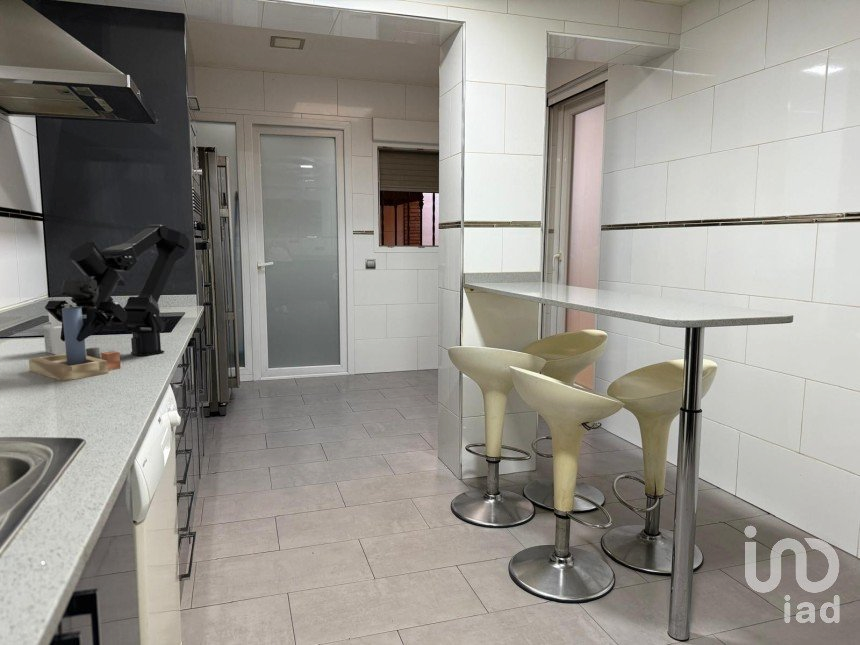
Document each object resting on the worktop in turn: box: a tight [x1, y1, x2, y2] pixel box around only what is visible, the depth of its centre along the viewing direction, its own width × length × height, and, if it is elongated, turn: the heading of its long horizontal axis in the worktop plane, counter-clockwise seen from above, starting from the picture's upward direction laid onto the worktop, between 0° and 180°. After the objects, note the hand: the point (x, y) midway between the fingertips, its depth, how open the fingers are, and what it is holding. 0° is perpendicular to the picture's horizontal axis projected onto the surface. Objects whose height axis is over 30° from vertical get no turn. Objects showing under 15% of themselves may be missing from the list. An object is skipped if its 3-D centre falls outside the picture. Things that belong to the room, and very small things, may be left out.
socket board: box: [28, 347, 122, 382], centre depth 148 cm, size 14×18×4 cm
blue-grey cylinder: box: [62, 307, 87, 366], centre depth 143 cm, size 4×4×14 cm
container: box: [42, 311, 66, 355], centre depth 172 cm, size 8×8×13 cm
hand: (70, 340), depth 142 cm, fingers closed on blue-grey cylinder, 4 cm apart
